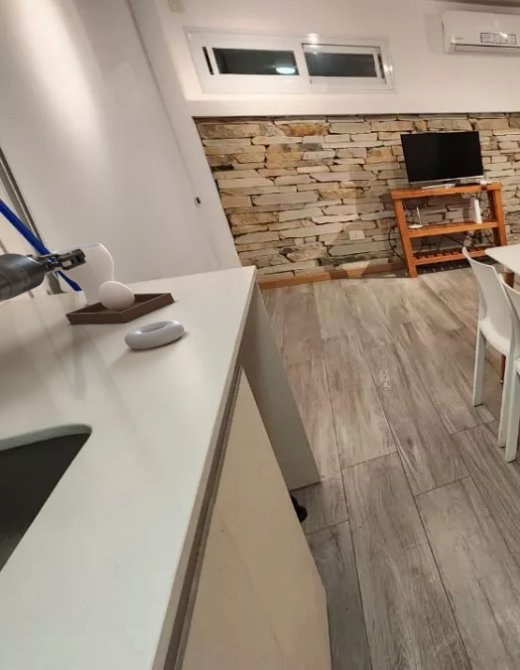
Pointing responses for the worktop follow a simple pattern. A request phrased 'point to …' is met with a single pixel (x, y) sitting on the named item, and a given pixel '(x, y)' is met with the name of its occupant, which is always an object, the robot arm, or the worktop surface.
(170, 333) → the donut
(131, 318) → the tray
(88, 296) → the cup
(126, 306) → the egg
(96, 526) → the worktop surface
